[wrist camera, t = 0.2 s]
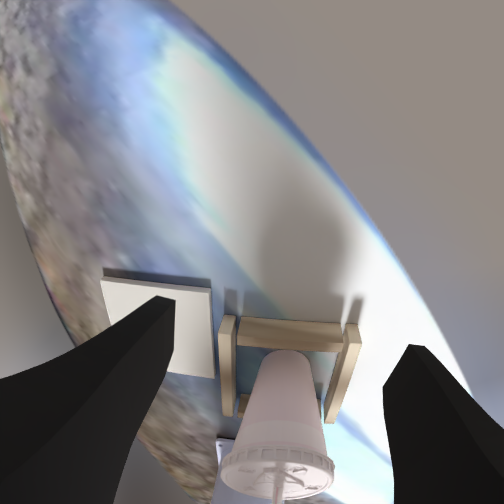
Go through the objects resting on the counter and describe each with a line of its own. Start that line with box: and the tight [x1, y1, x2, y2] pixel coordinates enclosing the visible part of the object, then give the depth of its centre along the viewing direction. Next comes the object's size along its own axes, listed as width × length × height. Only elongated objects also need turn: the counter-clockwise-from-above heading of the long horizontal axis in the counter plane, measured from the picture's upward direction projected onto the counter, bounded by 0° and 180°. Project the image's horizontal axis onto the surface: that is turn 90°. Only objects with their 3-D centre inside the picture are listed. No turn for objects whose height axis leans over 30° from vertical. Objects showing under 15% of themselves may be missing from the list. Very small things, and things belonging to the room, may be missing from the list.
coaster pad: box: [100, 276, 216, 379], centre depth 22 cm, size 8×8×1 cm
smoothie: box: [221, 350, 335, 504], centre depth 16 cm, size 6×6×14 cm
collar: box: [218, 315, 362, 424], centre depth 22 cm, size 9×9×2 cm
